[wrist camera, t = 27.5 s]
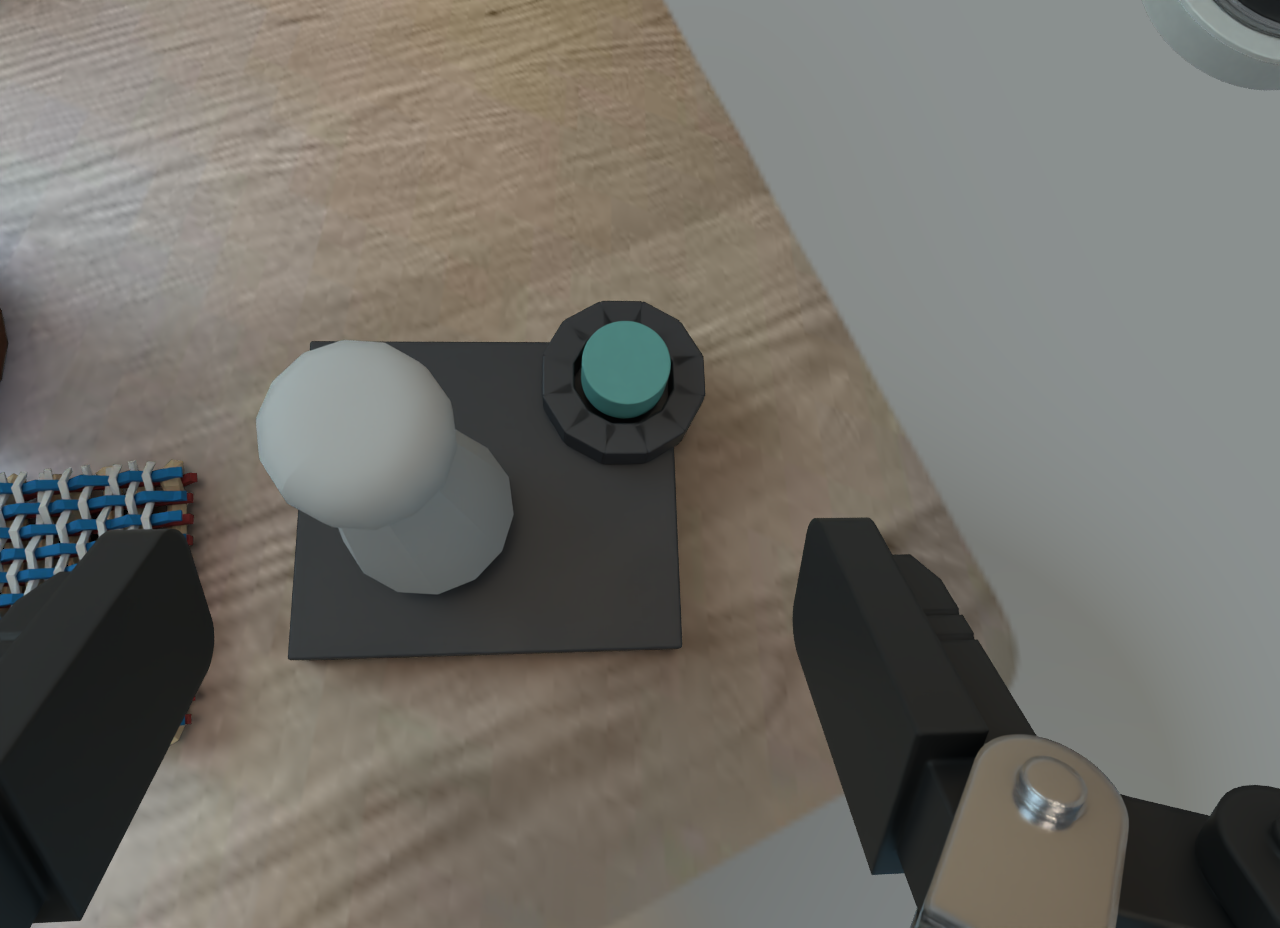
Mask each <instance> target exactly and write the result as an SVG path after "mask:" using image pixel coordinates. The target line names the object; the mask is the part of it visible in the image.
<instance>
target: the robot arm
mask: <svg viewBox="0 0 1280 928" xmlns="http://www.w3.org/2000/svg"><path fill="white" fill-rule="evenodd" d="M1213 1H1214V2H1215V3H1216V4H1217V5H1218V6H1219V7H1220V8H1221V9H1222V10H1224V11H1225V12H1226V13H1227V14H1228V15H1230V16H1231V17H1233V18H1234V19H1235V20H1237V21H1238V22H1240V23H1242V24H1243V25H1245V26H1247V27H1249V28H1251V29H1253V30H1255V31H1258V32H1260V33H1263V34H1266V35H1269V36H1272V37H1276V38H1280V0H1213ZM793 634H794V641H795V647H796V651H797V654H798V657H799V660H800V663H801V666H802V669H803V672H804V675H805V678H806V681H807V684H808V687H809V690H810V693H811V696H812V699H813V702H814V705H815V708H816V711H817V714H818V717H819V719H820V722H821V725H822V728H823V731H824V734H825V737H826V740H827V743H828V746H829V749H830V752H831V755H832V758H833V761H834V764H835V767H836V770H837V773H838V776H839V779H840V782H841V785H842V788H843V791H844V794H845V797H846V800H847V803H848V805H849V809H850V812H851V815H852V817H853V820H854V823H855V826H856V829H857V832H858V835H859V838H860V841H861V844H862V847H863V850H864V853H865V856H866V859H867V862H868V865H869V868H870V871H871V874H872V875H878V874H898V873H905V876H906V878H907V881H908V884H909V887H910V889H911V892H912V895H913V897H914V900H915V903H916V905H917V910H916V912H915V915H914V918H913V921H912V924H911V926H910V928H1280V789H1279V788H1274V787H1269V786H1260V785H1249V786H1241V787H1238V788H1234V789H1232V790H1231V791H1229V792H1227V793H1226V794H1225V795H1224V796H1223V797H1222V798H1221V800H1220V801H1219V803H1218V804H1217V806H1216V807H1215V809H1214V810H1213V812H1212V814H1211V815H1210V816H1208V815H1204V814H1199V813H1196V812H1191V811H1187V810H1183V809H1179V808H1174V807H1170V806H1166V805H1162V804H1158V803H1153V802H1149V801H1145V800H1140V799H1136V798H1132V797H1128V796H1125V795H1122V794H1119V792H1118V791H1117V789H1116V787H1115V786H1114V785H1113V783H1112V782H1111V781H1110V780H1109V779H1108V777H1107V776H1106V775H1105V774H1104V773H1103V772H1102V771H1101V770H1100V769H1099V768H1098V767H1096V766H1095V765H1094V764H1093V763H1091V762H1090V761H1089V760H1088V759H1086V758H1085V757H1083V756H1082V755H1080V754H1079V753H1077V752H1075V751H1074V750H1072V749H1070V748H1068V747H1066V746H1064V745H1062V744H1060V743H1057V742H1054V741H1052V740H1049V739H1046V738H1042V737H1038V736H1036V734H1035V733H1034V731H1033V729H1032V728H1031V726H1030V724H1029V723H1028V721H1027V719H1026V718H1025V716H1024V715H1023V713H1022V711H1021V710H1020V708H1019V706H1018V705H1017V703H1016V702H1015V700H1014V699H1013V697H1012V695H1011V693H1010V692H1009V690H1008V688H1007V687H1006V685H1005V684H1004V682H1003V680H1002V679H1001V677H1000V675H999V674H998V672H997V670H996V669H995V667H994V666H993V664H992V662H991V661H990V659H989V657H988V656H987V654H986V652H985V651H984V649H983V648H982V646H981V644H980V643H979V641H978V640H974V633H973V631H972V630H971V628H970V626H969V625H968V623H967V621H966V620H965V618H964V616H963V615H959V608H958V607H957V605H956V603H955V602H954V600H953V598H952V597H951V595H950V594H949V592H948V590H947V589H946V587H945V585H944V584H943V582H942V580H941V579H940V578H938V577H937V576H936V575H935V574H934V573H932V572H931V571H930V570H929V569H927V568H926V567H925V566H924V565H923V564H921V563H920V562H919V561H918V560H916V559H915V558H914V557H913V556H912V555H910V554H908V555H892V554H891V552H890V550H889V548H888V546H887V545H886V543H885V541H884V539H883V537H882V536H881V534H880V532H879V530H878V528H877V526H876V525H875V523H874V522H873V521H872V520H871V519H870V518H814V519H812V521H811V522H810V524H809V526H808V530H807V534H806V539H805V545H804V550H803V556H802V561H801V567H800V572H799V578H798V583H797V589H796V594H795V600H794V606H793ZM213 648H214V627H213V622H212V618H211V615H210V611H209V608H208V605H207V602H206V599H205V596H204V592H203V589H202V586H201V583H200V580H199V577H198V573H197V570H196V567H195V564H194V561H193V558H192V554H191V551H190V548H189V545H188V542H187V540H186V538H185V536H184V535H183V534H182V533H181V532H180V531H179V530H177V529H123V530H109V531H106V532H105V533H103V534H102V535H101V536H100V537H99V538H98V539H97V540H96V542H95V543H94V544H93V545H92V547H91V548H90V549H89V550H88V551H87V553H86V554H85V555H84V556H83V558H82V559H81V560H80V561H79V562H78V564H77V565H76V566H75V567H74V569H73V570H72V571H62V572H58V573H57V574H55V575H54V576H52V577H51V578H49V579H48V580H46V581H45V582H43V583H42V584H40V585H39V586H37V587H36V588H34V589H33V590H31V591H30V592H28V593H27V594H25V595H24V596H22V597H21V598H20V599H18V600H17V601H16V602H15V603H14V604H13V605H12V606H11V607H10V608H9V610H8V611H7V612H6V613H5V614H4V615H3V617H2V618H1V619H0V928H30V927H31V925H32V923H46V922H65V921H81V919H82V917H83V915H84V913H85V911H86V909H87V907H88V905H89V903H90V901H91V900H92V898H93V896H94V894H95V892H96V890H97V888H98V886H99V884H100V882H101V880H102V878H103V876H104V874H105V872H106V870H107V868H108V866H109V864H110V862H111V860H112V858H113V856H114V854H115V852H116V850H117V848H118V846H119V844H120V842H121V840H122V839H123V837H124V835H125V833H126V831H127V829H128V827H129V825H130V823H131V821H132V819H133V817H134V815H135V813H136V811H137V809H138V807H139V805H140V803H141V801H142V799H143V797H144V795H145V793H146V791H147V789H148V787H149V785H150V783H151V781H152V779H153V778H154V776H155V774H156V772H157V770H158V768H159V766H160V764H161V762H162V760H163V758H164V756H165V754H166V752H167V750H168V748H169V746H170V744H171V742H172V740H173V738H174V736H175V734H176V732H177V730H178V728H179V726H180V724H181V722H182V720H183V718H184V716H185V715H186V713H187V711H188V709H189V707H190V705H191V703H192V701H193V699H194V697H195V695H196V693H197V691H198V689H199V687H200V685H201V683H202V681H203V679H204V677H205V675H206V673H207V671H208V669H209V666H210V663H211V659H212V655H213Z"/></svg>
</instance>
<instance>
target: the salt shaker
mask: <svg viewBox="0 0 1280 928" xmlns="http://www.w3.org/2000/svg"><path fill="white" fill-rule="evenodd" d="M256 427H257V438H258V450H259V459H260V461H261V463H262V464H263V466H264V467H265V469H266V471H267V472H268V474H269V475H270V477H271V479H272V480H273V482H274V483H275V485H276V487H277V488H278V490H279V491H280V493H281V495H282V496H283V498H284V499H285V501H286V502H287V503H288V504H289V505H291V506H293V507H295V508H297V509H299V510H300V511H302V512H304V513H306V514H308V515H310V516H311V517H313V518H315V519H317V520H319V521H321V522H322V523H324V524H327V525H329V526H331V527H337V528H338V529H339V531H340V534H341V536H342V539H343V542H344V543H345V545H346V546H347V548H348V549H349V551H350V553H351V554H352V556H353V557H354V559H355V560H356V562H357V564H358V565H359V567H360V568H361V570H362V571H363V573H364V574H366V575H368V576H370V577H372V578H373V579H375V580H377V581H379V582H380V583H382V584H384V585H386V586H388V587H389V588H391V589H393V590H395V591H397V592H403V593H421V594H440V593H443V592H445V591H448V590H450V589H453V588H455V587H458V586H460V585H463V584H465V583H468V582H470V581H473V580H475V579H476V578H477V577H478V576H479V575H480V574H481V573H482V572H483V571H484V570H485V569H486V568H487V567H488V566H489V564H490V563H491V562H492V561H493V560H494V559H495V558H496V557H497V556H498V555H499V554H500V553H501V552H502V550H503V547H504V543H505V540H506V537H507V534H508V531H509V528H510V525H511V521H512V518H513V515H514V513H513V505H512V498H511V490H510V482H509V477H508V476H507V474H506V473H505V471H504V470H503V469H502V467H501V466H500V465H499V463H498V462H497V460H496V459H495V458H494V456H493V455H492V453H491V452H490V451H489V449H488V448H486V447H485V446H483V445H481V444H480V443H478V442H476V441H474V440H473V439H471V438H469V437H468V436H466V435H464V434H462V433H461V432H459V431H457V430H455V424H454V416H453V409H452V405H451V401H450V399H449V398H448V397H447V395H446V394H445V392H444V391H443V390H442V388H441V387H440V386H439V384H438V383H437V381H436V380H435V379H434V377H433V376H432V374H431V373H430V372H429V370H428V369H427V368H426V367H425V366H423V365H422V364H421V363H420V362H418V361H416V360H415V359H413V358H411V357H409V356H408V355H406V354H404V353H402V352H401V351H399V350H397V349H395V348H393V347H392V346H390V345H388V344H386V343H384V342H369V341H354V340H341V341H338V342H335V343H332V344H329V345H326V346H323V347H320V348H317V349H314V350H311V351H308V352H305V353H303V354H302V355H301V356H300V357H298V358H297V359H296V360H295V361H294V362H293V363H292V364H291V365H290V366H289V367H288V368H286V369H285V370H284V371H283V372H282V373H281V374H280V375H279V376H278V377H277V378H276V379H275V380H273V381H272V384H271V386H270V388H269V390H268V393H267V395H266V397H265V399H264V402H263V404H262V406H261V408H260V411H259V413H258V415H257V418H256Z"/></svg>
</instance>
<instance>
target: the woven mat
mask: <svg viewBox="0 0 1280 928" xmlns="http://www.w3.org/2000/svg"><path fill="white" fill-rule="evenodd" d="M155 463H156V462H148V461H147V464H146V466H145V468H144V471H139V470H138V467H137V463H136V460H135V461H129V462H128V465H129V468H130V470H129V471H126V472H123V473H120V474H119V472H120V470H121V467H122V465H116V464H113V466H109V467H103V468H102V469H101V470H99V471H98V472H96V475H92V471H91V468H90V465H84V466H81V468H82V472H83V475H79V476H76V477H74V478H72V479H69V478H70V476H71V474H72V472H73V471H72V468H69V469H66V470H65V471H64V473H63V475H62V474H55V475H52V470H51V469H45V470H44V473H39V480H33V481H30V482H26V477H27V472H20V473H19V475H16V474H14V473H13V474H12V475H10V476H9V477H8V478H6V475H5V473H4V472H2V473H0V591H1V589H2V594H1V595H0V619H1V618H2V617H3V615H4V614H5V613H6V612H7V611H8V610H9V608H10V607H11V606H12V605H13V604H14V603H15V602H16V601H17V600H18V599H20V598H21V597H22V596H24V595H25V594H27V593H28V592H30V591H31V590H33V589H34V588H36V587H37V586H39V585H40V584H42V583H43V582H45V581H46V580H48V579H49V578H51V577H52V576H54V575H55V574H57V573H58V572H62V571H72V570H73V569H74V567H75V566H76V565H77V564H78V562H79V561H80V560H81V559H82V558H83V556H84V555H85V554H86V553H87V551H88V550H89V549H90V548H91V547H92V545H93V544H94V543H95V542H96V541H93V542H91V536H90V534H99V537H100V536H101V535H102V534H103V533H105V532H106V531H109V530H123V529H159V528H162V527H167V529H177V530H179V531H180V532H181V533H182V534H183V535H184V536H185V538H186V540H187V542H188V545H193V536H191V535H187V525H188V524H193V523H194V515H192V514H190V513H189V514H187V503H193V493H187V491H185V490H184V487H185V486H187V485H190V484H192V483H195V482H197V473H187V474H184V475H183V473H184V470H183V461H178V460H173V459H171V461H170V462H169V463H168V464H167V465H166V466H165V467H164V468H163V469H160V470H155V471H152V470H153V468H154V466H155ZM155 487H162V490H163V491H154V490H155ZM123 488H128V490H127V493H126V495H123ZM93 490H103V496H100V497H96V498H91V499H90V497H91V492H92V491H93ZM61 496H62V499H61ZM37 497H38V498H37ZM34 498H37V503H25V501H28V500H31V499H34ZM166 505H167V512H162V513H157V514H152V511H153V508H154V507H155V506H166ZM124 509H128V515H124ZM98 513H100V514H99V516H98V518H97V519H91V516H92V515H95V514H98ZM31 518H36V524H32V525H29V524H28V519H31ZM5 521H6V524H5ZM59 539H60V542H61V543H59ZM30 540H31V541H30ZM29 541H30V542H29ZM28 542H29V544H28ZM4 545H5V547H4V549H3V550H2V548H3V546H4ZM1 550H2V551H1ZM192 558H193V557H192ZM58 559H59V560H58ZM57 560H58V563H57V565H56V567H55V568H53V567H54V565H55V564H56V562H57ZM67 562H68V567H66V564H67ZM27 564H28V569H27ZM2 565H3V567H2ZM193 701H195V697H194V699H193ZM185 724H191V714H186V715H185V716H184V718H183V720H182V722H181V724H180V726H179V728H178V730H177V732H176V734H175V736H174V738H173V740H172V742H171V744H170V745H172V744H173V743H175V742H177V741H178V740H179V738H180V736H181V733H182V731H183V729H184V727H185Z"/></svg>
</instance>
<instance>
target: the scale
mask: <svg viewBox="0 0 1280 928" xmlns="http://www.w3.org/2000/svg"><path fill="white" fill-rule="evenodd" d="M618 321H632V322H637V323H640V324H643V325H645V326H647V327H649V328H651V329H652V330H653V331H655V332H656V333H657V334H658V335H659V336H660V337H661V338H662V340H663V341H664V342H665V344H666V346H667V348H668V351H669V354H670V360H671V369H670V374H669V377H668V380H667V383H666V386H665V389H664V392H663V394H662V396H661V398H660V400H659V401H658V403H657V404H656V405H655V406H654V407H653V408H652V409H651V410H649V411H648V412H646V413H645V414H643V415H640V416H637V417H633V418H615V417H611V416H608V415H606V414H604V413H602V412H601V411H599V410H598V409H596V408H595V407H594V406H593V405H592V404H591V403H590V401H589V400H588V399H587V397H586V395H585V393H584V391H583V388H582V383H581V369H582V355H583V351H584V348H585V345H586V343H587V341H588V340H589V339H590V337H591V336H592V335H593V334H594V333H595V332H596V331H597V330H598V329H600V328H602V327H603V326H605V325H607V324H610V323H613V322H618ZM335 342H338V341H312V342H311V343H310V351H311V350H314V349H317V348H320V347H323V346H326V345H329V344H332V343H335ZM384 343H386V344H388V345H390V346H392V347H393V348H395V349H397V350H399V351H401V352H402V353H404V354H406V355H408V356H409V357H411V358H413V359H415V360H416V361H418V362H420V363H421V364H422V365H423V366H425V367H426V368H427V369H428V370H429V372H430V373H431V374H432V376H433V377H434V379H435V380H436V381H437V383H438V384H439V386H440V387H441V388H442V390H443V391H444V392H445V394H446V395H447V397H448V398H449V399H450V401H451V405H452V409H453V416H454V424H455V430H457V431H459V432H461V433H462V434H464V435H466V436H468V437H469V438H471V439H473V440H474V441H476V442H478V443H480V444H481V445H483V446H485V447H486V448H488V449H489V451H490V452H491V453H492V455H493V456H494V458H495V459H496V460H497V462H498V463H499V465H500V466H501V467H502V469H503V470H504V471H505V473H506V474H507V476H508V477H509V482H510V490H511V498H512V505H513V513H514V515H513V518H512V521H511V525H510V528H509V531H508V534H507V537H506V540H505V543H504V547H503V550H502V552H501V553H500V554H499V555H498V556H497V557H496V558H495V559H494V560H493V561H492V562H491V563H490V564H489V566H488V567H487V568H486V569H485V570H484V571H483V572H482V573H481V574H480V575H479V576H478V577H477V578H476V579H475V580H473V581H470V582H468V583H465V584H463V585H460V586H458V587H455V588H453V589H450V590H448V591H445V592H443V593H440V594H421V593H403V592H397V591H395V590H393V589H391V588H389V587H388V586H386V585H384V584H382V583H380V582H379V581H377V580H375V579H373V578H372V577H370V576H368V575H366V574H364V573H363V571H362V570H361V568H360V567H359V565H358V564H357V562H356V560H355V559H354V557H353V556H352V554H351V553H350V551H349V549H348V548H347V546H346V545H345V543H344V542H343V539H342V536H341V534H340V531H339V529H338V528H337V527H331V526H329V525H327V524H324V523H322V522H321V521H319V520H317V519H315V518H313V517H311V516H310V515H308V514H306V513H304V512H302V511H300V510H299V509H298V523H297V537H296V551H295V565H294V579H293V593H292V607H291V621H290V635H289V649H288V659H289V660H335V659H368V658H401V657H434V656H466V655H499V654H532V653H565V652H598V651H630V650H663V649H678V648H681V647H682V628H681V605H680V581H679V558H678V534H677V511H676V487H675V464H674V446H676V445H678V444H679V442H681V441H682V439H683V437H684V435H685V433H686V432H687V430H688V428H689V426H690V424H691V422H692V421H693V419H694V417H695V415H696V413H697V411H698V410H699V408H700V406H701V404H702V402H703V400H704V397H705V379H704V360H703V356H702V353H701V352H700V350H699V349H698V347H697V346H696V344H695V343H694V341H693V340H692V338H691V337H690V335H689V334H688V332H687V331H686V329H685V328H684V326H683V325H682V323H681V322H679V320H677V319H676V318H674V317H672V316H670V315H668V314H666V313H664V312H662V311H661V310H659V309H657V308H655V307H653V306H651V305H649V304H647V303H646V302H641V301H602V302H598V303H596V304H594V305H592V306H590V307H588V308H586V309H584V310H583V311H581V312H579V313H577V314H575V315H573V316H571V317H569V318H567V319H566V320H565V321H563V322H562V324H561V325H560V327H559V328H558V330H557V332H556V333H555V335H554V337H553V338H552V340H551V341H550V342H384Z"/></svg>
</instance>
